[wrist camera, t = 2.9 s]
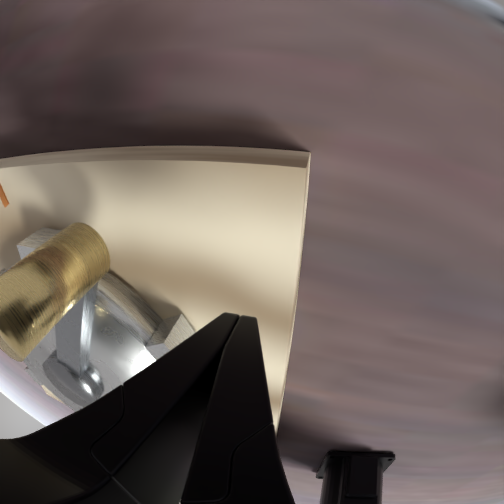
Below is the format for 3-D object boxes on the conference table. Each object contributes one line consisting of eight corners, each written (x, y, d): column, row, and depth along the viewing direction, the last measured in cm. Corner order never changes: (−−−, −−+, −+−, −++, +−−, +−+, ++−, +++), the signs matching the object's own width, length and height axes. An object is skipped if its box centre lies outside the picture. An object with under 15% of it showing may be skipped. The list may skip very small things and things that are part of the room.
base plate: (275, 443, 24) (268, 472, 22) (61, 376, 29) (46, 395, 26) (310, 152, 13) (306, 168, 10) (-16, 161, 17) (-45, 174, 15)
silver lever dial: (218, 450, 21) (190, 526, 15) (59, 391, 24) (22, 443, 18) (190, 208, 12) (66, 335, 6) (-22, 197, 14) (-100, 247, 9)
